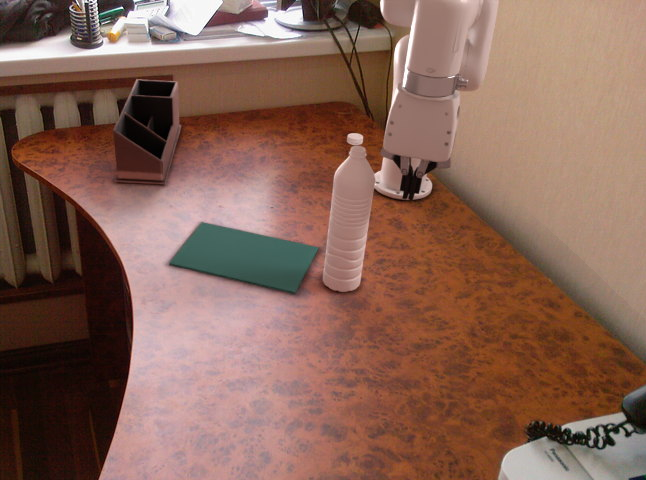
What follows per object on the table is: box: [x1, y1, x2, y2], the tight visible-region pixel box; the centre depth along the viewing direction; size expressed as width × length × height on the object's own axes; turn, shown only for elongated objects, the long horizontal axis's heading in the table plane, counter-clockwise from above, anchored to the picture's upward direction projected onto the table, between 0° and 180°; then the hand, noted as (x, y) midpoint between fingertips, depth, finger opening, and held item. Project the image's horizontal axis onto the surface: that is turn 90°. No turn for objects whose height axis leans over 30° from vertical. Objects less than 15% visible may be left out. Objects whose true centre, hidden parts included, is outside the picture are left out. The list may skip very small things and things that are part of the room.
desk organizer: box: [112, 78, 182, 186], centre depth 160 cm, size 10×29×11 cm, turn 179°
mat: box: [169, 221, 319, 295], centre depth 132 cm, size 15×23×1 cm, turn 72°
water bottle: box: [322, 132, 375, 293], centre depth 121 cm, size 9×6×25 cm
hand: (408, 195), depth 116 cm, fingers closed
